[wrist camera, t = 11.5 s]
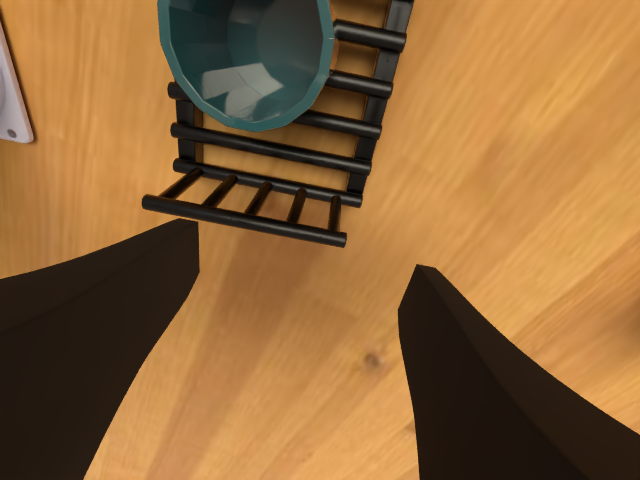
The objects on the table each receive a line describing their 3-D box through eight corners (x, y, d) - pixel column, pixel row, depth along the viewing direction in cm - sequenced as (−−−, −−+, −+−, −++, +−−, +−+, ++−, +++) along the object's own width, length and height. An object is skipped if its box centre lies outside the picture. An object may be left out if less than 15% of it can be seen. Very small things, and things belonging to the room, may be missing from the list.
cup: (222, 94, 16) (165, 114, 11) (224, -45, 13) (148, -102, 8) (326, 115, 16) (316, 144, 11) (350, -17, 13) (351, -58, 8)
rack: (188, 164, 20) (122, 211, 14) (172, -209, 12) (14, -440, 6) (358, 198, 20) (362, 257, 14) (449, -147, 13) (535, -315, 7)
